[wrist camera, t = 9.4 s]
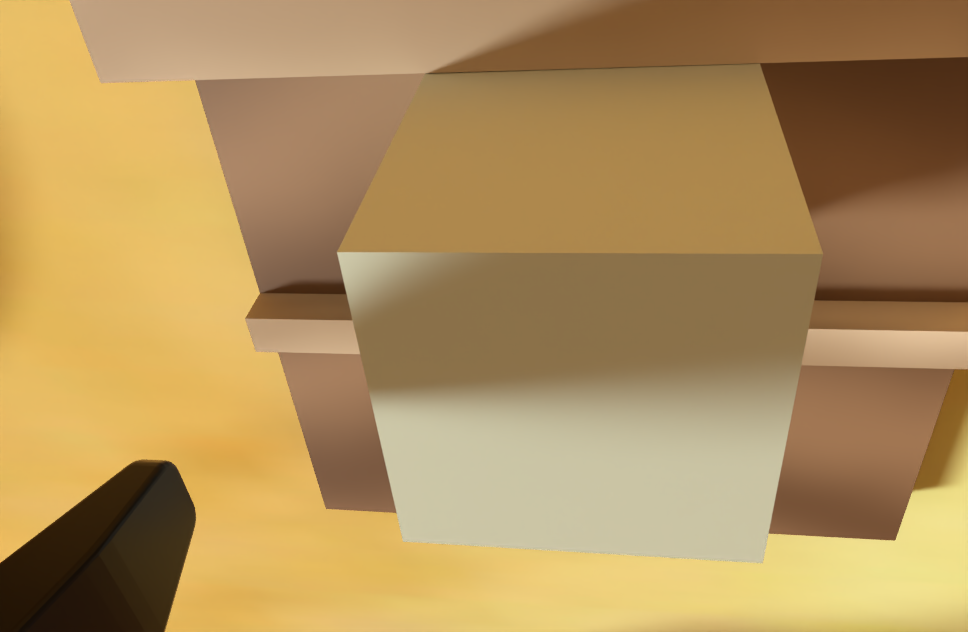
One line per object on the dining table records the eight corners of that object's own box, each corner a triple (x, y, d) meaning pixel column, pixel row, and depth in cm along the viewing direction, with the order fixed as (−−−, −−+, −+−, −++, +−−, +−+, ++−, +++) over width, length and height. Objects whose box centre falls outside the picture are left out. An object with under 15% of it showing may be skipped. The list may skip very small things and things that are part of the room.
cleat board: (881, 497, 24) (926, 642, 20) (339, 470, 26) (294, 596, 23) (1081, -137, 14) (1235, -69, 10) (186, -80, 16) (65, -11, 13)
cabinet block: (711, 273, 18) (755, 597, 12) (483, 271, 19) (410, 574, 12) (738, -1, 14) (822, 253, 8) (456, 10, 15) (337, 251, 9)
